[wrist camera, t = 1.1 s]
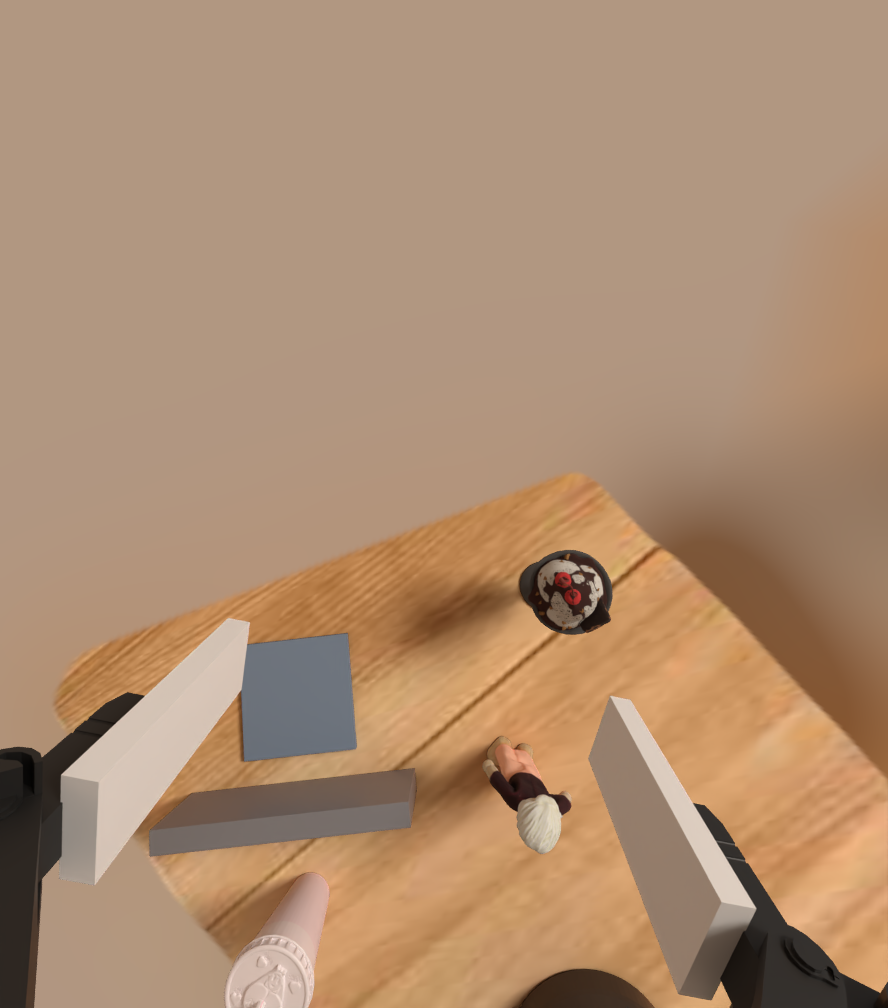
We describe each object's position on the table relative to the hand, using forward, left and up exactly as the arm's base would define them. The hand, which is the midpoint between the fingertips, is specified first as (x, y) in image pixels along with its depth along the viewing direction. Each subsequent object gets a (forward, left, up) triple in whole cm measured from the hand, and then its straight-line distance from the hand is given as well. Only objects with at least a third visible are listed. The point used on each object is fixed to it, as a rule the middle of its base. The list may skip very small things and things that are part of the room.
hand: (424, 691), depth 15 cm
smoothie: (-25, +15, -29) cm, 41 cm away
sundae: (+1, -11, -29) cm, 31 cm away
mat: (-7, +15, -29) cm, 34 cm away
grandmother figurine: (-15, -6, -29) cm, 33 cm away
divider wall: (-16, +15, -29) cm, 37 cm away
